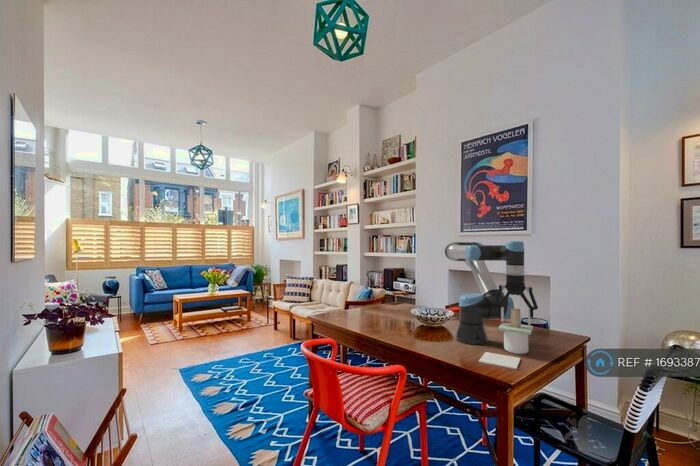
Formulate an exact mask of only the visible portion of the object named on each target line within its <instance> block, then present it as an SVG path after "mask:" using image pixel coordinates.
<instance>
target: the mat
mask: <svg viewBox="0 0 700 466" xmlns="http://www.w3.org/2000/svg"><path fill="white" fill-rule="evenodd" d="M521 360H522V358H521V357H516V356H511V355H506V354H500V353H493V352H489V351H488V352H487V351H485V352H484V353H483V354H482V356H481V357H480V358H479V360H478V363H479V364H484V365H489V366H495V367H500V368H506V369H511V370H515V371H517V370H518V367H519V364H520V362H521Z"/></svg>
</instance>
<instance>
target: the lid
mask: <svg viewBox="0 0 700 466" xmlns="http://www.w3.org/2000/svg"><path fill="white" fill-rule="evenodd" d="M533 329H534V326H533V325H528V324H522V323H521V309H520V308H515V307H514V308H511V318H510V322H505V321H503V322H501V324H500V325H499V326H498V327H497V331H501V332H504V331H507V332H514V333H521V334H528V336H530V335H532V333H533Z"/></svg>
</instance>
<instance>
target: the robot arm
mask: <svg viewBox="0 0 700 466" xmlns="http://www.w3.org/2000/svg"><path fill="white" fill-rule="evenodd" d="M524 244H525V243H524V242H523V241H522V240H517V241H515V240H513V241H512V240H507V241H506V242H505V245H503V244H500V245H494V244H493V245H492V244H491V245H490V244H488V245H486V244H485V245H484V244H483V243H481V242H476V241H471V242H470V241H468V242H467V241H465V242H463V241H460V242H459V241H455V242H451V243H449V244H447V245H446V246H445V248H444V254H445V257H446V258H447V259H449V260H450V261H453V262H455V261H456V262H464V263H465V265H466V267H469V268H470V271H471V272H472V275H473V277H474V279H475V282H476V284H477V286H478V288H479V290H480V293H478V292H475V293H474V292H473V293H471V292H470V293H465V294H461V295H460V297H459V303H458V306H459V307H458V310H459V315H458V316H459V320H458V321H459V323H458V324H459V325H458V327H457V330H456V333H455V340H456V341H457V342H460V343H463V344H466V345H467V344H468V345H486V344H488V341H489V339H488V335H487V331H486V328H485V327H484V326H485V325H484V323H485V322H484V321H485V320H486V321H487V320H491V321H493V320H495V321H496V320H497V321H498V320H499V321H500V322H501V323H502V322H505V320H509V319H510V320H511V308H515V304H514V299H513V298H512V297H511V296H514V295H516V296H520V297H521V298H522V300H523V301H524V302H525V304H526V306H527V307H528V311H527V318H528V319H527V325H530V326H532V324H531V323H532V322H531V321H532V320H531V319H532V318H534V311H536V310H538V309H539V307H538V304H537V301H536V297H535V295H534V292H533V287H532V286H526V285H525V275H524V274H525V245H524ZM485 261H495V262H496V261H498V262H499V261H501V262H502V261H503V262H505V266H506V267H505V273H506V276H505V277H506V278H505V279H506V281H505V282H506V283H505V285H503V284H499V285H498V286H497V284H496V282H495V281H494V278H493V276H492V274H491V272H490V270H489V267H488V266H487V264H486V262H485ZM505 289H506V290H507V292H506V293H505V294H504V292H503V291H504V290H505ZM525 290H526V292H528V293H529V297H530V300H531V301H529V299H528V298H527V296H526V295H525V293H524V292H525ZM510 295H511V296H510ZM530 302H531V303H530Z"/></svg>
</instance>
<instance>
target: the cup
mask: <svg viewBox="0 0 700 466" xmlns="http://www.w3.org/2000/svg"><path fill="white" fill-rule="evenodd" d="M503 349H504V350H505V351H506V352H508V353H510V354H515V355H525V354H528V352H529V335H528V334H521V333H514V332H507V331H503Z"/></svg>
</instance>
